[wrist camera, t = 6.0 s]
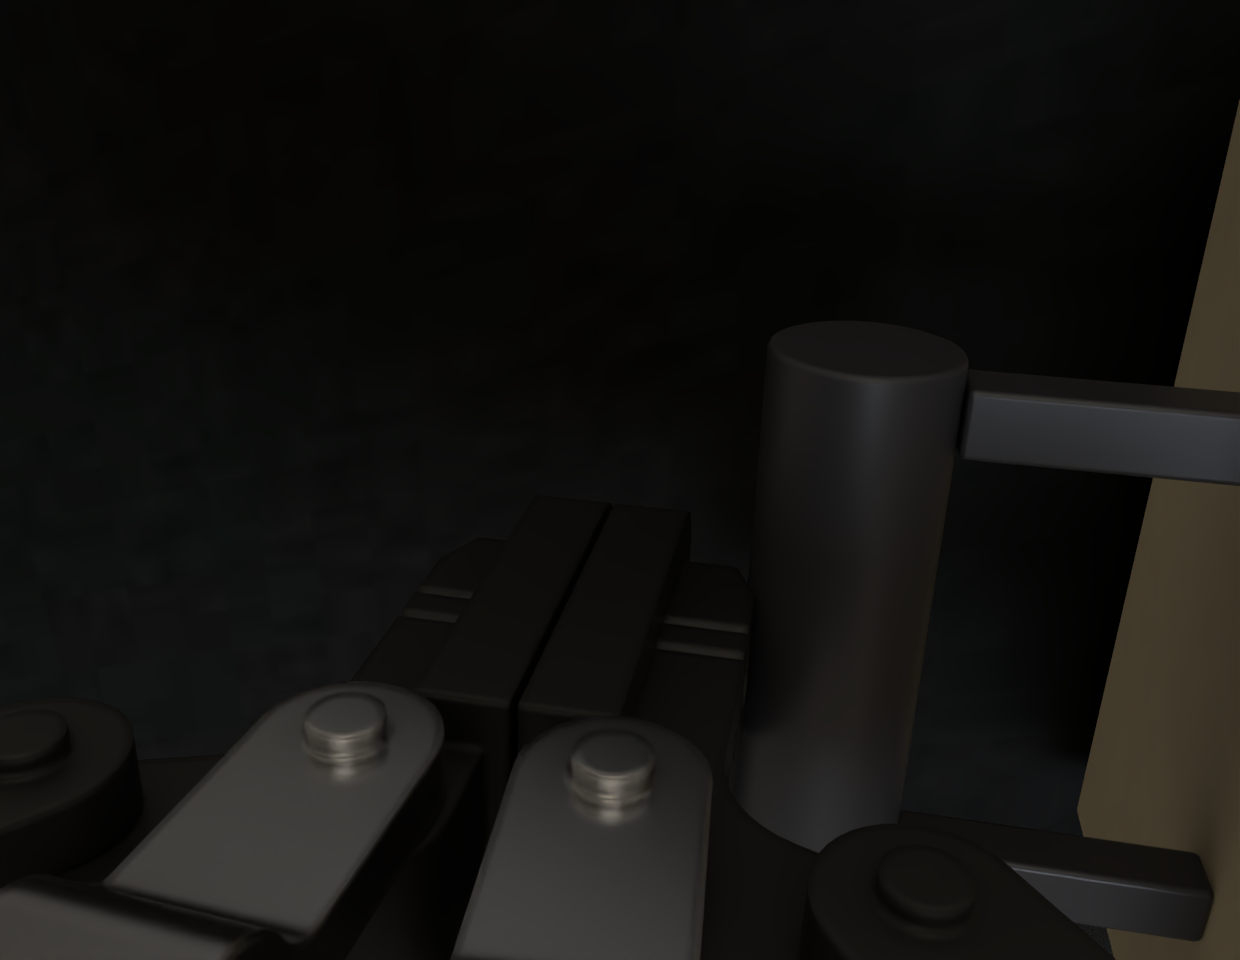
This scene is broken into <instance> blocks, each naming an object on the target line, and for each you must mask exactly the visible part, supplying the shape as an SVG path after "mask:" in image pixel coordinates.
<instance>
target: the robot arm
mask: <svg viewBox="0 0 1240 960" xmlns="http://www.w3.org/2000/svg"><path fill="white" fill-rule="evenodd" d="M690 545H691V514H690V512H687V511H678V510H669V509H660V508H651V507H642V506H632V505H623V504H615V505H614V506H612V504H611V503H603V502H594V501H585V500H576V499H567V498H558V497H549V496H539V495H537V496H536V497H535V498H534V499H533V501H532V502H531V504H530V505H529V507H528V508H527V510H526V512H525V513H524V515H523V516H522V518H521V519H520V521H519V523H518V524H517V526H516V527H515V529H514V530H513V532H512V534H511V535H510V537H509V538H508V540H507V541H505V540H497V539H488V538H479V537H478V538H476V539H474V540H473V541H471V542H469V543H467V544H466V545H464V546H462V547H460V548H458V549H457V550H455V551H453V552H451V553H450V554H448V555H446V556H444V557H443V558H441V559H440V560H439V561H438V562H437V564H436V565H435V567H434V568H433V569H432V571H431V572H430V573H429V575H428V576H427V577H426V579H425V580H424V582H423V583H422V584H421V586H420V590H419V593H418V592H415V594H414V595H413V597H412V598H411V599H410V601H409V602H408V603H407V605H406V606H405V607H404V609H403V614H402V616H398V617H397V618H396V620H395V621H394V622H393V624H392V625H391V627H390V628H389V629H388V631H387V632H386V633H385V635H384V636H383V638H382V639H381V640H380V642H379V643H378V644H377V646H376V647H375V648H374V650H373V651H372V653H371V654H370V655H369V657H368V658H367V659H366V661H365V662H364V663H363V665H362V666H361V668H360V669H359V670H358V672H357V673H356V674H355V676H354V677H353V678H352V680H351V681H350V682H340V683H334V684H328V685H323V686H319V687H316V688H312V689H309V690H306V691H303V692H300V693H298V694H295V695H293V696H291V697H289V698H287V699H285V700H283V701H281V702H280V703H278V704H277V705H275V706H274V707H272V708H271V709H270V710H268V711H267V712H266V713H265V714H264V715H263V716H262V717H261V718H260V719H259V720H258V721H257V722H256V723H255V724H254V725H253V726H252V727H251V728H250V729H249V730H248V731H247V732H246V733H245V734H244V735H243V736H242V737H241V738H240V739H239V740H238V742H237V743H236V744H235V745H234V746H233V747H232V748H231V749H230V750H229V751H228V752H227V753H226V754H220V755H209V756H194V757H179V758H165V759H150V760H137V754H136V748H135V741H134V735H133V730H132V726H131V724H130V722H129V720H128V719H127V717H126V716H125V715H123V714H122V713H121V712H120V711H119V710H117V709H115V708H114V707H112V706H110V705H107V704H104V703H102V702H99V701H94V700H89V699H84V698H71V697H59V698H44V699H36V700H30V701H25V702H20V703H15V704H11V705H8V706H4V707H1V708H0V960H1116V959H1115V958H1113V957H1112V956H1111V955H1110V954H1109V953H1108V952H1107V951H1105V950H1104V949H1103V948H1102V947H1101V946H1100V945H1099V944H1097V943H1096V942H1095V941H1094V940H1093V939H1092V938H1091V937H1090V936H1088V935H1087V934H1086V933H1085V932H1084V931H1083V930H1082V929H1080V928H1079V927H1078V926H1077V925H1076V924H1075V923H1074V922H1072V921H1071V920H1070V919H1069V918H1068V917H1067V916H1066V915H1064V914H1063V913H1062V912H1061V911H1060V910H1059V909H1058V908H1057V907H1055V906H1054V905H1053V904H1052V903H1051V902H1050V901H1049V900H1047V899H1046V898H1045V897H1044V896H1043V895H1042V894H1041V893H1039V892H1038V891H1037V890H1036V889H1035V888H1034V887H1033V886H1031V885H1030V884H1029V883H1028V882H1027V881H1026V880H1025V879H1024V878H1022V877H1021V876H1020V875H1019V874H1018V873H1017V872H1016V871H1014V870H1013V869H1012V868H1011V867H1010V866H1009V865H1007V864H1006V863H1005V862H1004V861H1002V860H1001V859H1000V858H998V857H997V856H996V855H994V854H993V853H991V852H990V851H988V850H986V849H985V848H983V847H981V846H980V845H978V844H976V843H974V842H971V841H969V840H967V839H965V838H963V837H961V836H958V835H955V834H952V833H949V832H946V831H943V830H939V829H935V828H931V827H926V826H921V825H912V824H878V825H870V826H865V827H861V828H858V829H854V830H851V831H849V832H847V833H845V834H842V835H840V836H838V837H837V838H835V839H834V840H832V841H831V842H829V843H828V844H827V845H826V846H825V847H824V848H823V849H822V850H821V851H820V852H819V853H817V852H815V851H812V850H810V849H807V848H805V847H803V846H800V845H798V844H795V843H793V842H791V841H789V840H787V839H784V838H782V837H780V836H778V835H777V834H775V833H773V832H772V831H770V830H768V829H767V828H765V827H763V826H762V825H761V824H760V823H758V822H757V821H756V820H755V819H753V818H752V817H751V816H750V815H749V814H748V813H747V812H746V811H745V810H744V809H743V808H742V807H741V806H740V805H739V803H738V802H737V801H736V799H735V798H734V796H733V795H732V794H733V788H734V782H735V776H736V768H737V764H738V758H739V752H740V746H741V740H742V734H743V724H744V713H745V701H746V690H747V678H748V667H749V656H750V644H751V633H752V621H753V610H754V598H755V596H754V595H753V593H752V591H751V590H750V588H749V586H748V584H747V583H746V581H745V579H744V578H743V576H742V574H741V573H740V571H739V569H738V568H737V567H730V566H721V565H713V564H704V563H695V562H689V561H690Z"/></svg>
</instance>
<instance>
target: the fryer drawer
mask: <svg viewBox="0 0 1240 960" xmlns="http://www.w3.org/2000/svg"><path fill="white" fill-rule="evenodd" d="M968 369H969V361H968V358H967V355H966V353H965V352H964V351H963V350H962V349H961V348H960V347H958V346H957V345H956V344H954V343H952V342H950V341H948V340H946V339H944V338H941V337H939V336H936V335H933V334H931V333H927V332H924V331H920V330H917V329H913V328H908V327H903V326H898V325H892V324H885V323H876V322H865V321H822V322H813V323H806V324H801V325H797V326H792V327H789V328H786V329H783V330H781V331H779V332H777V333H776V334H775V335H774V336H772V338H771V340H770V342H769V344H768V346H767V358H766V370H765V382H764V394H763V406H762V419H761V431H760V443H759V455H758V467H757V479H756V491H755V503H754V516H753V528H752V540H751V552H750V564H749V576H748V586H749V588H750V590H751V591H752V593H753V595H754V596H755V598H754V610H753V621H752V633H751V644H750V656H749V667H748V678H747V690H746V701H745V713H744V724H743V734H742V740H741V746H740V752H739V758H738V764H737V768H736V776H735V782H734V788H733V794H732V795H733V796H734V798H735V799H736V801H737V802H738V803H739V805H740V806H741V807H742V808H743V809H744V810H745V811H746V812H747V813H748V814H749V815H750V816H751V817H752V818H753V819H755V820H756V821H757V822H758V823H760V824H761V825H762V826H763V827H765V828H767V829H768V830H770V831H772V832H773V833H775V834H777V835H778V836H780V837H782V838H784V839H787V840H789V841H791V842H793V843H795V844H798V845H800V846H803V847H805V848H807V849H810V850H812V851H815V852H817V853H819V852H820V851H821V850H822V849H823V848H824V847H825V846H826V845H827V844H828V843H829V842H831V841H832V840H834V839H835V838H837V837H838V836H840V835H842V834H845V833H847V832H849V831H851V830H854V829H858V828H861V827H865V826H870V825H878V824H912V825H921V826H926V827H931V828H935V829H939V830H943V831H946V832H949V833H952V834H955V835H958V836H961V837H963V838H965V839H967V840H969V841H971V842H974V843H976V844H978V845H980V846H981V847H983V848H985V849H986V850H988V851H990V852H991V853H993V854H994V855H996V856H997V857H998V858H1000V859H1001V860H1002V861H1004V862H1005V863H1006V864H1007V865H1009V866H1010V867H1011V868H1012V869H1013V870H1014V871H1016V872H1017V873H1018V874H1019V875H1020V876H1021V877H1022V878H1024V879H1025V880H1026V881H1027V882H1028V883H1029V884H1030V885H1031V886H1033V887H1034V888H1035V889H1036V890H1037V891H1038V892H1039V893H1041V894H1042V895H1043V896H1044V897H1045V898H1046V899H1047V900H1049V901H1050V902H1051V903H1052V904H1053V905H1054V906H1055V907H1057V908H1058V909H1059V910H1060V911H1061V912H1062V913H1063V914H1064V915H1066V916H1067V917H1068V918H1069V919H1070V920H1071V921H1072V922H1074V923H1077V924H1083V925H1090V926H1096V927H1103V928H1107V931H1108V935H1109V939H1110V943H1111V947H1112V951H1113V955H1114V958H1115V959H1116V960H1240V100H1239V105H1238V109H1237V114H1236V118H1235V122H1234V127H1233V131H1232V135H1231V140H1230V144H1229V148H1228V153H1227V157H1226V162H1225V166H1224V170H1223V175H1222V179H1221V183H1220V188H1219V192H1218V196H1217V201H1216V205H1215V210H1214V214H1213V218H1212V223H1211V227H1210V231H1209V236H1208V240H1207V244H1206V249H1205V253H1204V258H1203V262H1202V266H1201V271H1200V275H1199V279H1198V284H1197V288H1196V292H1195V297H1194V301H1193V306H1192V310H1191V314H1190V319H1189V323H1188V327H1187V332H1186V336H1185V340H1184V345H1183V349H1182V354H1181V358H1180V362H1179V367H1178V371H1177V375H1176V380H1175V384H1174V387H1171V386H1159V385H1147V384H1135V383H1123V382H1111V381H1099V380H1087V379H1075V378H1064V377H1052V376H1040V375H1028V374H1016V373H1004V372H992V371H980V370H968ZM956 446H957V447H958V453H959V456H960V458H962V459H964V460H973V461H983V462H994V463H1004V464H1014V465H1025V466H1035V467H1046V468H1056V469H1066V470H1077V471H1087V472H1098V473H1108V474H1119V475H1129V476H1139V477H1150V478H1153V480H1152V485H1151V489H1150V493H1149V498H1148V502H1147V506H1146V511H1145V515H1144V519H1143V524H1142V528H1141V533H1140V537H1139V541H1138V546H1137V550H1136V554H1135V559H1134V563H1133V567H1132V572H1131V576H1130V581H1129V585H1128V589H1127V594H1126V598H1125V602H1124V607H1123V611H1122V615H1121V620H1120V624H1119V629H1118V633H1117V637H1116V642H1115V646H1114V650H1113V655H1112V659H1111V664H1110V668H1109V672H1108V677H1107V681H1106V685H1105V690H1104V694H1103V698H1102V703H1101V707H1100V712H1099V716H1098V720H1097V725H1096V729H1095V733H1094V738H1093V742H1092V746H1091V751H1090V755H1089V760H1088V764H1087V768H1086V773H1085V777H1084V781H1083V786H1082V790H1081V794H1080V799H1079V803H1078V808H1077V812H1078V816H1079V820H1080V824H1081V828H1082V832H1083V836H1077V835H1070V834H1063V833H1056V832H1049V831H1042V830H1035V829H1028V828H1021V827H1014V826H1007V825H1000V824H993V823H986V822H979V821H972V820H965V819H958V818H951V817H945V816H938V815H931V814H924V813H917V812H910V811H900V808H901V802H902V795H903V789H904V782H905V776H906V770H907V763H908V757H909V750H910V744H911V737H912V731H913V724H914V718H915V711H916V705H917V698H918V692H919V685H920V679H921V673H922V666H923V660H924V653H925V647H926V640H927V634H928V627H929V621H930V614H931V608H932V601H933V595H934V588H935V582H936V575H937V569H938V563H939V556H940V550H941V543H942V537H943V530H944V524H945V517H946V511H947V504H948V498H949V491H950V485H951V478H952V472H953V466H954V459H955V453H956Z"/></svg>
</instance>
